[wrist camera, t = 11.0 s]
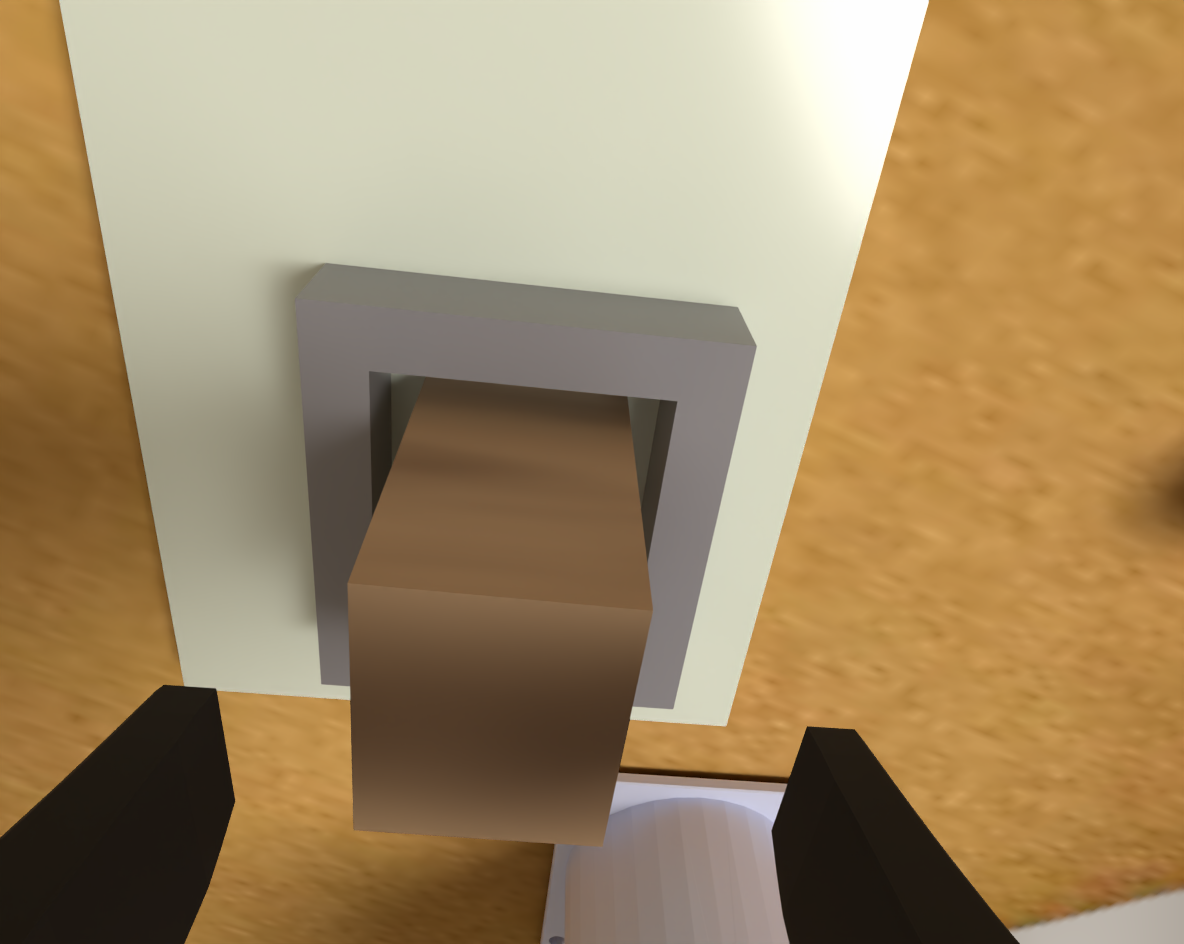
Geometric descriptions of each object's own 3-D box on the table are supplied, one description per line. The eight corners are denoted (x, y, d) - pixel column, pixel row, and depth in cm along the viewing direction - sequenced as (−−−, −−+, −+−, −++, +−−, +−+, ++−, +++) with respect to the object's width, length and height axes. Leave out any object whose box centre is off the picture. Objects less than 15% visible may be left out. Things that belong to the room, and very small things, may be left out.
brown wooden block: (594, 580, 20) (602, 847, 14) (423, 563, 19) (353, 829, 13) (626, 388, 17) (652, 610, 11) (429, 365, 17) (347, 582, 11)
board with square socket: (720, 698, 23) (738, 789, 20) (199, 660, 22) (150, 750, 19) (927, -75, 14) (1007, -86, 11) (57, -199, 13) (-72, -243, 10)
